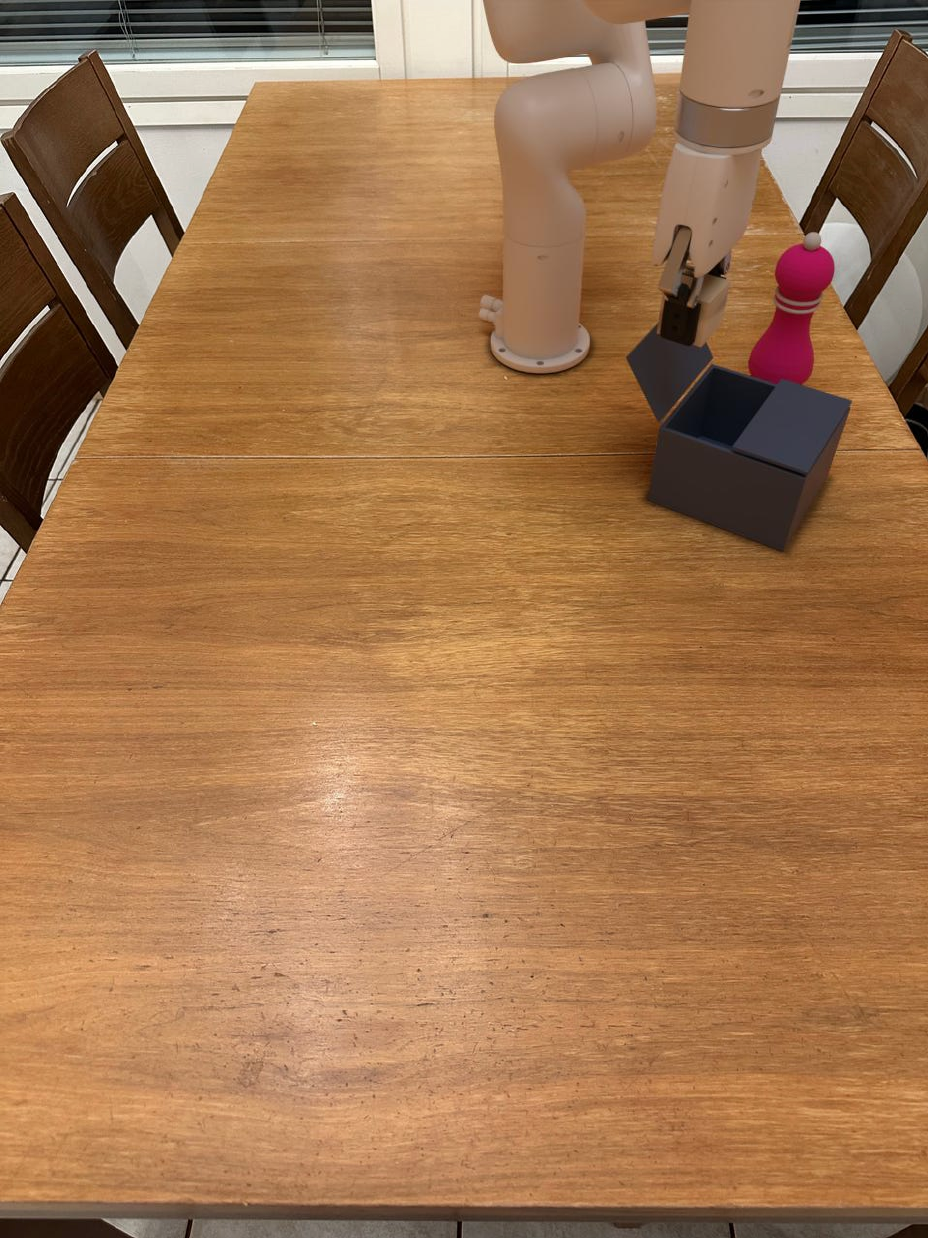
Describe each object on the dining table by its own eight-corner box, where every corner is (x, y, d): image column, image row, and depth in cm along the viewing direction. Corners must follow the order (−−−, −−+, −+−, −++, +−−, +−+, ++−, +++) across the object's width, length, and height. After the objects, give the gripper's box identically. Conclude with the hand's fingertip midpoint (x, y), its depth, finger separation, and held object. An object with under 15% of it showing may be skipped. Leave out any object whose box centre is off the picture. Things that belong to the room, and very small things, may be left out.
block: (656, 333, 86) (662, 288, 83) (677, 311, 88) (684, 267, 85) (701, 347, 84) (709, 302, 81) (721, 324, 87) (730, 280, 83)
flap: (660, 421, 93) (657, 422, 93) (713, 357, 100) (710, 358, 100) (628, 356, 90) (625, 357, 90) (685, 294, 97) (681, 296, 97)
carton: (647, 500, 101) (659, 421, 93) (697, 435, 108) (712, 356, 100) (782, 551, 95) (807, 472, 87) (826, 479, 102) (853, 400, 94)
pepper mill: (804, 416, 110) (853, 252, 95) (740, 410, 111) (778, 247, 96) (802, 381, 114) (848, 219, 99) (741, 375, 115) (777, 214, 100)
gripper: (725, 71, 79) (691, 275, 92) (630, 144, 70) (608, 359, 83) (813, 88, 76) (764, 297, 89) (725, 167, 67) (686, 386, 80)
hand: (689, 325), depth 86 cm, fingers closed on block, 4 cm apart
